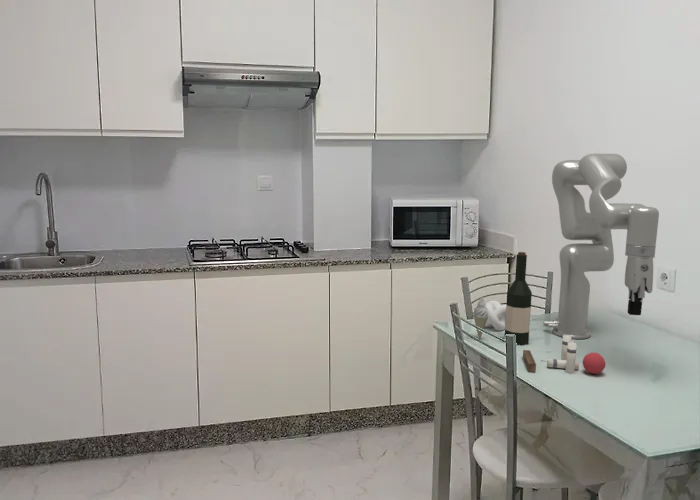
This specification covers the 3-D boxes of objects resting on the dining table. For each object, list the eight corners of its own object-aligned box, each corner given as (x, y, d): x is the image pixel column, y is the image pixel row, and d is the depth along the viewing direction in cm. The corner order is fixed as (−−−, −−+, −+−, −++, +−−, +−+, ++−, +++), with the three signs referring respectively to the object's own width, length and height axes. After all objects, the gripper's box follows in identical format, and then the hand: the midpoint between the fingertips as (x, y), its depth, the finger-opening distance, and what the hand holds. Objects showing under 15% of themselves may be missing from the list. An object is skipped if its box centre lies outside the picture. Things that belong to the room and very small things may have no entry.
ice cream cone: (488, 337, 203) (490, 294, 200) (486, 342, 198) (488, 298, 196) (473, 336, 205) (475, 293, 202) (470, 340, 200) (473, 296, 197)
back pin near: (566, 373, 172) (568, 344, 171) (564, 369, 175) (566, 341, 173) (575, 373, 172) (577, 345, 170) (573, 370, 174) (575, 342, 173)
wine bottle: (500, 337, 204) (505, 250, 198) (523, 337, 204) (529, 250, 199) (508, 345, 195) (513, 254, 190) (533, 345, 196) (539, 254, 191)
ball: (594, 363, 167) (612, 367, 168) (587, 346, 171) (605, 350, 173) (581, 375, 171) (599, 379, 172) (575, 358, 175) (593, 362, 177)
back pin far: (561, 364, 179) (563, 337, 178) (560, 361, 181) (562, 334, 180) (570, 364, 179) (572, 337, 177) (568, 362, 181) (570, 334, 180)
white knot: (505, 322, 222) (506, 298, 220) (518, 332, 210) (520, 307, 209) (476, 323, 220) (477, 299, 219) (487, 333, 209) (489, 308, 207)
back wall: (528, 372, 172) (528, 363, 172) (522, 357, 184) (523, 350, 184) (535, 372, 172) (536, 364, 172) (529, 358, 184) (530, 350, 183)
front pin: (577, 370, 176) (546, 367, 177) (577, 362, 176) (546, 359, 178) (578, 369, 173) (548, 366, 175) (578, 360, 174) (548, 357, 176)
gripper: (664, 256, 160) (657, 322, 163) (645, 247, 175) (639, 308, 178) (634, 255, 161) (628, 321, 165) (618, 246, 176) (612, 306, 179)
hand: (634, 314), depth 171 cm, fingers closed
